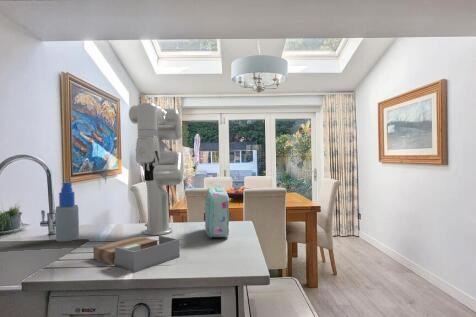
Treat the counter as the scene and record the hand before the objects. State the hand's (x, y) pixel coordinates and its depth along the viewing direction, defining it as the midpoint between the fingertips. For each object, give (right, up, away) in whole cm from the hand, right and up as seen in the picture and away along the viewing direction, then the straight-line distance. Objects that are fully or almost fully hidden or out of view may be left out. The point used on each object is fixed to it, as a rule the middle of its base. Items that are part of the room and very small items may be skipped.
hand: (149, 180), depth 123 cm
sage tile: (0, -23, -21) cm, 31 cm away
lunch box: (+26, -26, +17) cm, 40 cm away
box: (+5, -26, -20) cm, 33 cm away
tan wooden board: (-4, -26, -12) cm, 29 cm away
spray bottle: (-40, -27, +14) cm, 50 cm away
